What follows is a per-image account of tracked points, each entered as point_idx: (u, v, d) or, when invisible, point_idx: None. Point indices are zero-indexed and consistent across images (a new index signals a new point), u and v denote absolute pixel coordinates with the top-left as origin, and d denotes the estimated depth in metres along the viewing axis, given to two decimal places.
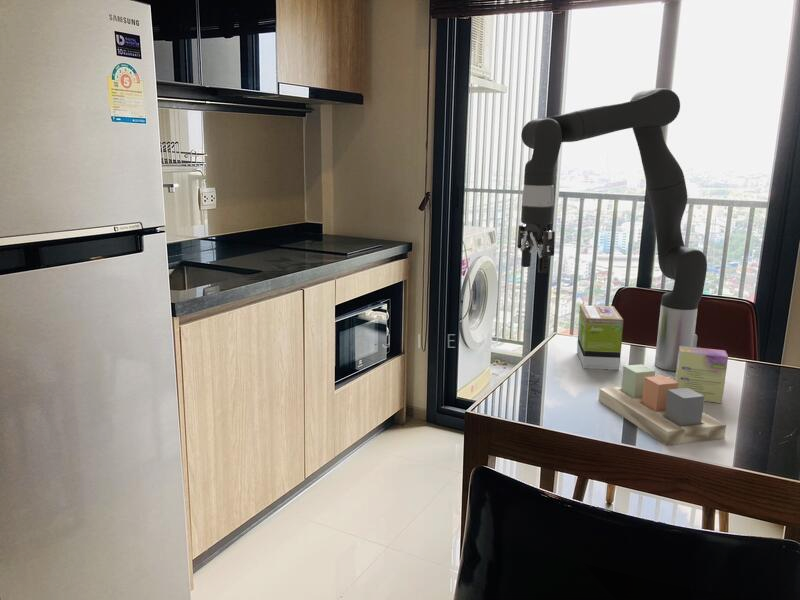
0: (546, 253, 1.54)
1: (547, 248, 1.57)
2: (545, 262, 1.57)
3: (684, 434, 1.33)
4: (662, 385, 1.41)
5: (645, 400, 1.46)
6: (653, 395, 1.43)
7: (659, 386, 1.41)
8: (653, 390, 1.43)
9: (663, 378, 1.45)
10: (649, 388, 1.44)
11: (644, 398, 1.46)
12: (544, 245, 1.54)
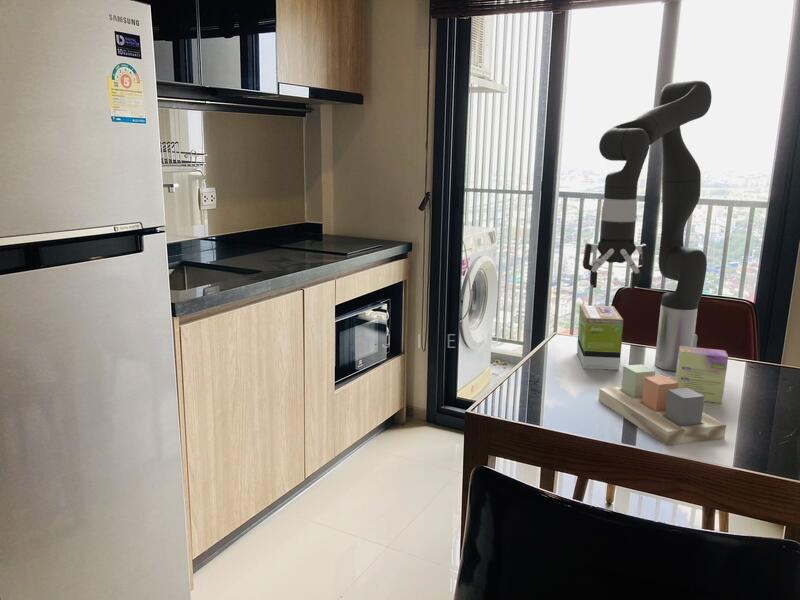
0: None
1: None
2: (637, 277, 1.52)
3: (684, 434, 1.33)
4: (662, 385, 1.41)
5: (645, 400, 1.46)
6: (653, 395, 1.43)
7: (659, 386, 1.41)
8: (653, 390, 1.43)
9: (663, 378, 1.45)
10: (649, 388, 1.44)
11: (644, 398, 1.46)
12: (646, 259, 1.49)
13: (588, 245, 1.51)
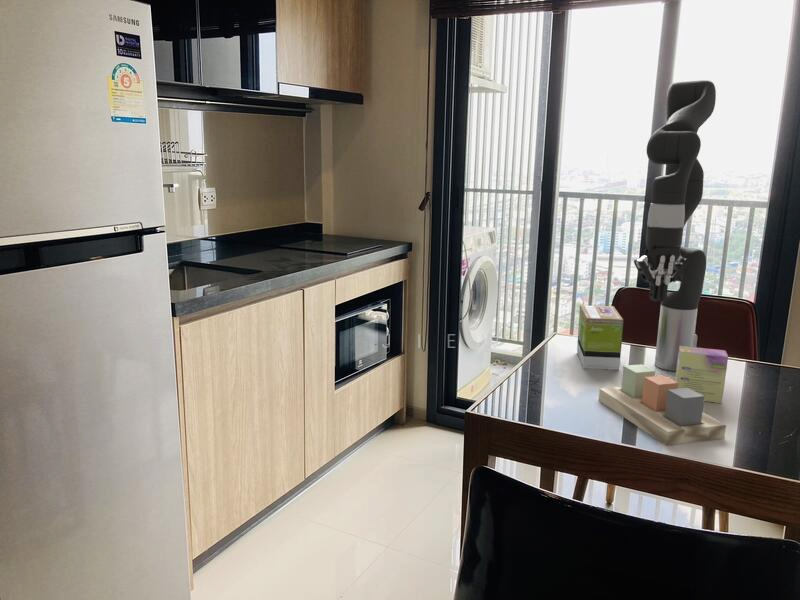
0: None
1: (664, 274, 1.49)
2: None
3: (684, 434, 1.33)
4: (662, 385, 1.41)
5: (645, 400, 1.46)
6: (653, 395, 1.43)
7: (659, 386, 1.41)
8: (653, 390, 1.43)
9: (663, 378, 1.45)
10: (649, 388, 1.44)
11: (644, 398, 1.46)
12: (680, 272, 1.47)
13: (642, 263, 1.44)
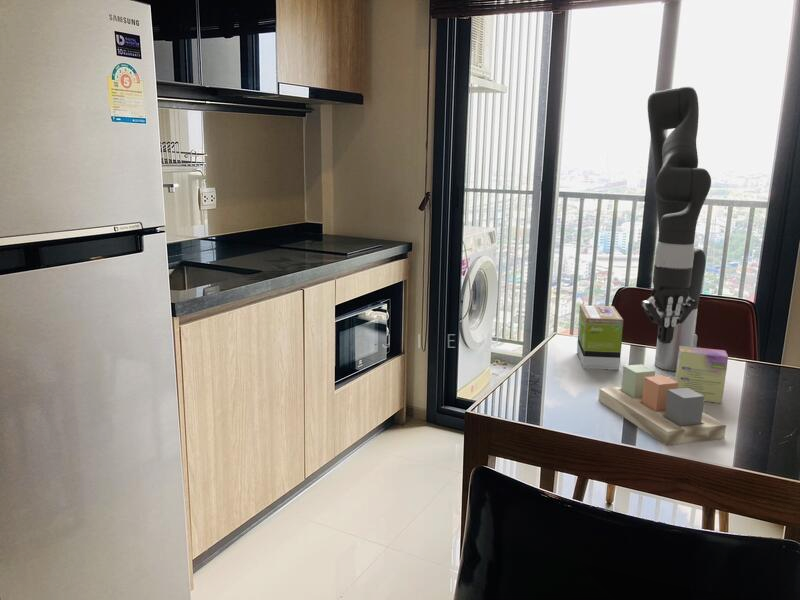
0: None
1: None
2: None
3: (684, 434, 1.33)
4: (662, 385, 1.41)
5: (645, 400, 1.46)
6: (653, 395, 1.43)
7: (659, 386, 1.41)
8: (653, 390, 1.43)
9: (663, 378, 1.45)
10: (649, 388, 1.44)
11: (644, 398, 1.46)
12: (687, 314, 1.41)
13: (649, 305, 1.37)
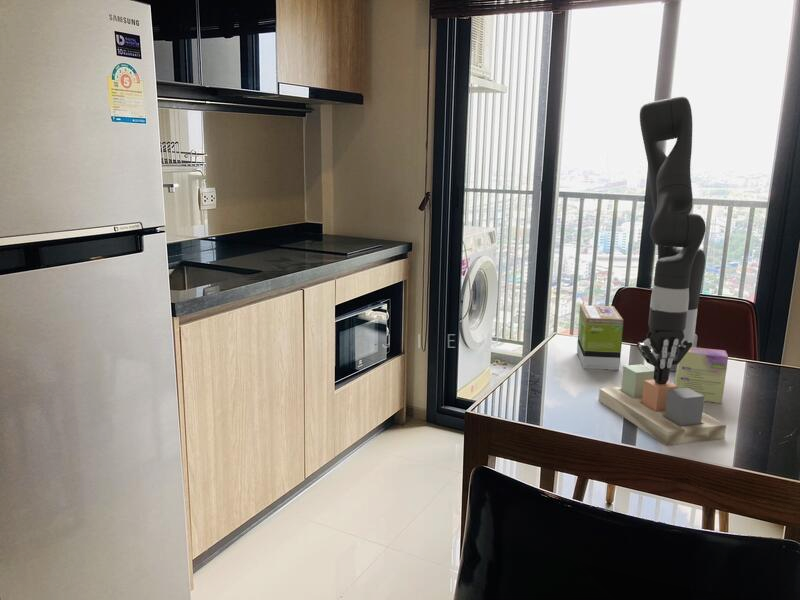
0: None
1: None
2: None
3: (684, 434, 1.33)
4: (662, 389, 1.41)
5: (645, 403, 1.46)
6: (652, 398, 1.43)
7: (659, 389, 1.41)
8: (653, 393, 1.43)
9: None
10: (648, 391, 1.44)
11: (644, 401, 1.46)
12: (682, 355, 1.43)
13: (645, 347, 1.39)
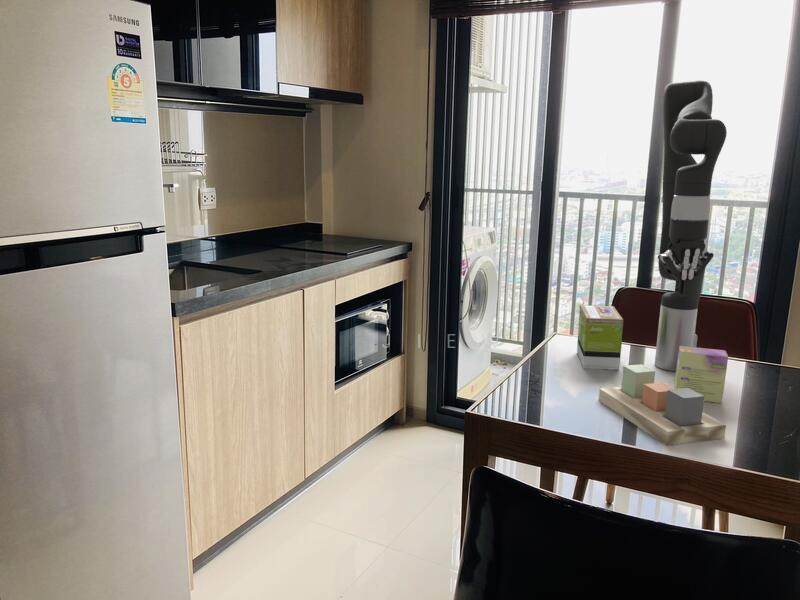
0: None
1: (687, 268, 1.44)
2: None
3: (684, 434, 1.33)
4: (661, 392, 1.42)
5: None
6: (652, 402, 1.43)
7: (658, 393, 1.41)
8: (652, 397, 1.43)
9: (663, 385, 1.45)
10: (648, 395, 1.45)
11: None
12: (704, 266, 1.42)
13: (666, 258, 1.39)
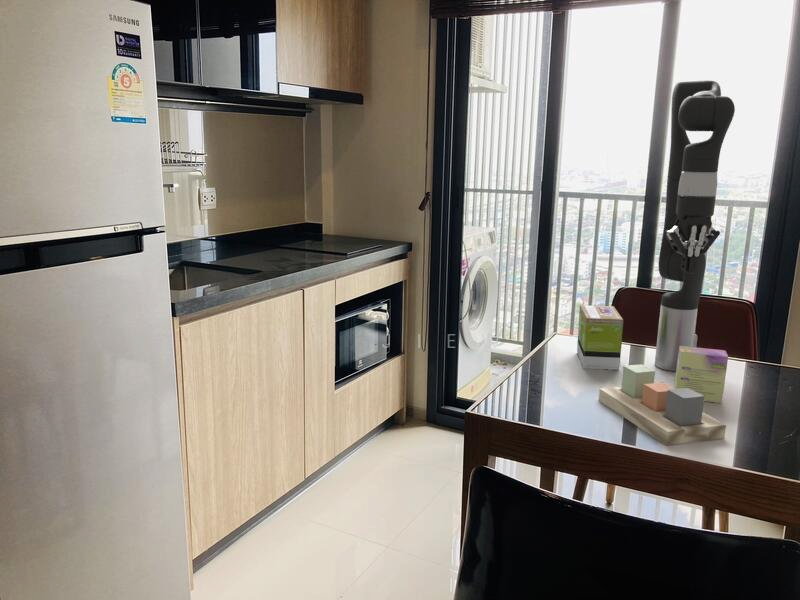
0: None
1: (693, 246, 1.44)
2: None
3: (684, 434, 1.33)
4: (661, 392, 1.42)
5: None
6: (652, 402, 1.43)
7: (658, 393, 1.41)
8: (652, 397, 1.43)
9: (663, 385, 1.45)
10: (648, 395, 1.45)
11: None
12: (710, 244, 1.43)
13: (673, 234, 1.40)
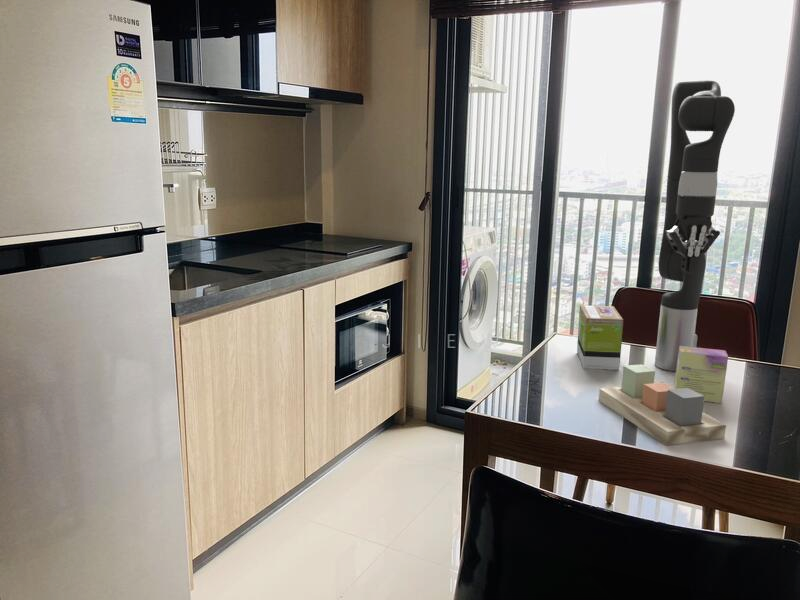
0: None
1: (693, 246, 1.44)
2: None
3: (684, 434, 1.33)
4: (661, 392, 1.42)
5: None
6: (652, 402, 1.43)
7: (658, 393, 1.41)
8: (652, 397, 1.43)
9: (663, 385, 1.45)
10: (648, 395, 1.45)
11: None
12: (710, 243, 1.43)
13: (673, 234, 1.40)
